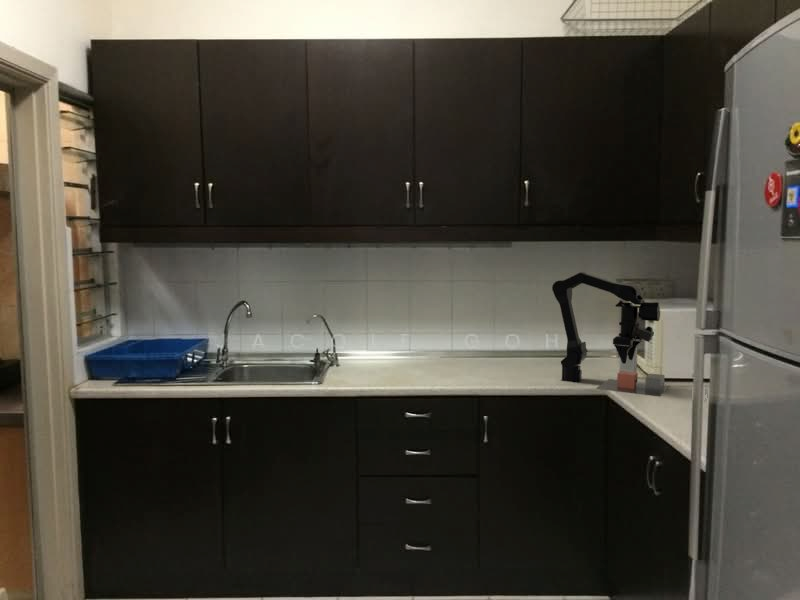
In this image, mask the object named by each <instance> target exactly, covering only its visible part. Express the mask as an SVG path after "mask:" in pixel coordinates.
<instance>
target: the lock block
mask: <svg viewBox="0 0 800 600" xmlns="http://www.w3.org/2000/svg"><path fill="white" fill-rule="evenodd" d="M638 374H639V373H638V372H637V373H634V372H625V371H620V372H619V371H618V373H617V379H616V380H617V387H623V388H631V389H635V382H638Z"/></svg>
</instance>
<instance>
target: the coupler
mask: <svg viewBox="0 0 800 600" xmlns="http://www.w3.org/2000/svg"><path fill="white" fill-rule="evenodd" d="M669 387H671V386H670V385H666V384H665V374H659V373H650V372H649V374H648V375H646V376H645V382H643V381H637V382H635V389H631V388H623V387H617V379H613V378H609V379H607V380H605V381H604V382H602V383H601V384H599V385H598V386H596V388H595V390H601V391H611V392H617V393H618V392H619V393H626V394H627V393H628V394H636V395H644V396H651V397H661V396H662V395H663V394H664V393H665V392H666V390H669V389H670V388H669ZM668 388H669V389H668Z"/></svg>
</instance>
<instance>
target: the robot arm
mask: <svg viewBox="0 0 800 600" xmlns="http://www.w3.org/2000/svg"><path fill="white" fill-rule="evenodd" d="M581 284H583V285H587V286H590V287H593V288H596V289H598V290H602V291H605V292H607V293H611V294H612V295H614V296H615V297H617V298H619V299H621V300H619V301H618V303H616V304H615V307H616V308H618V307H619V308H620V309H621V310H620V321H619V322H618V325H619V326H620V330H619V331H620V332H619V333H618V335H617V336H615V337H613V339H612V345H613V346H614V348H615V350H616V352H617V354H618V357H619V356H620V359H621V361H622V363H623V364H626V360H627V356H628V357H629V360H633V356H634V353H635V350H636V348H637V347H638V346H639V344H641V343H642V342H643V341H644V342H648V343H649V342H651V341H652V338H653V337H654V336H655V335H654V334H655V331H653V327H652V326H646V327H643V326H640V322H639V321H638V318H640V319H641V320H642V321H647V322H649V321H651V322H659V321H660V320H661V309H660V308H661V307H660V302H659V301H654V302H652V301H651V302H650V301H649V302H648V301H645V300H644V298H643V297H642V295H641V292H640V289H639V287H638V286H637V285H634V284H629V283H621V282H620V283H619V282H615V281H611V280H607V279H604V278H601V277H598V276H595V275H592V274H589V273H586V272H584V271H581V272H577V273H576V274H574V275H572V276H569V277H568V278H566V279H561V280H557V281H555V282H554V283H553V284H552V286H551V290H552V292H553V296H554V298H555V299H556V301H557V302H558V304H559V308H560V312H561V316H562V321H563V326H564V330H565V334H566V340H567V343H566V344H567V345H566V356H565V357H564V358H563V359H561V361H560V365H561V379H560V382H561V381H562V382H569V383H580V382H581V381H582V377H583V376H582V374H583V373H582V369H581V363H583V361H584V360H585V359H586V358H587V353H588V352H589V351H588V349H587V344H586V343H587V342H586V341H583V342H582V340H581V339H580V336H579V332H578V326H577V322H576V319H575V313H574V308H573V304H572V299H573V298H572V297H573V289H574V288H576V287H578V286H580V285H581Z"/></svg>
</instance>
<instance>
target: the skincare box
mask: <svg viewBox="0 0 800 600" xmlns="http://www.w3.org/2000/svg"><path fill="white" fill-rule="evenodd" d="M618 357H619V359H618V360H619V362H618V364H619V366H618V368H619V369H618V373H619V372H620V371H625V372H634V373H638V348H637V347H636V350H635V353H634V356H633V360H629V357H628V356H627V360H626V364H623V363H622V361H621V359H620V356H619V355H618Z"/></svg>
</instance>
